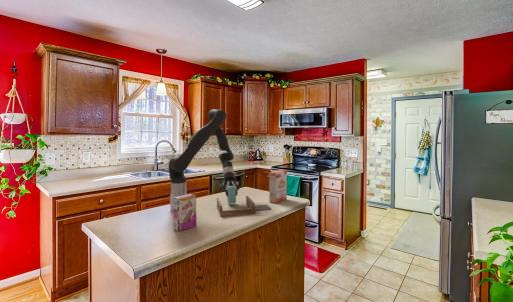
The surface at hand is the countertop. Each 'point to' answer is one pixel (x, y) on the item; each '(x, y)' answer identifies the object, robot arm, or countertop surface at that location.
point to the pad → (262, 207)
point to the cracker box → (278, 186)
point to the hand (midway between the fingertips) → (231, 195)
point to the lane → (239, 211)
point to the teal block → (231, 194)
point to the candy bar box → (184, 212)
